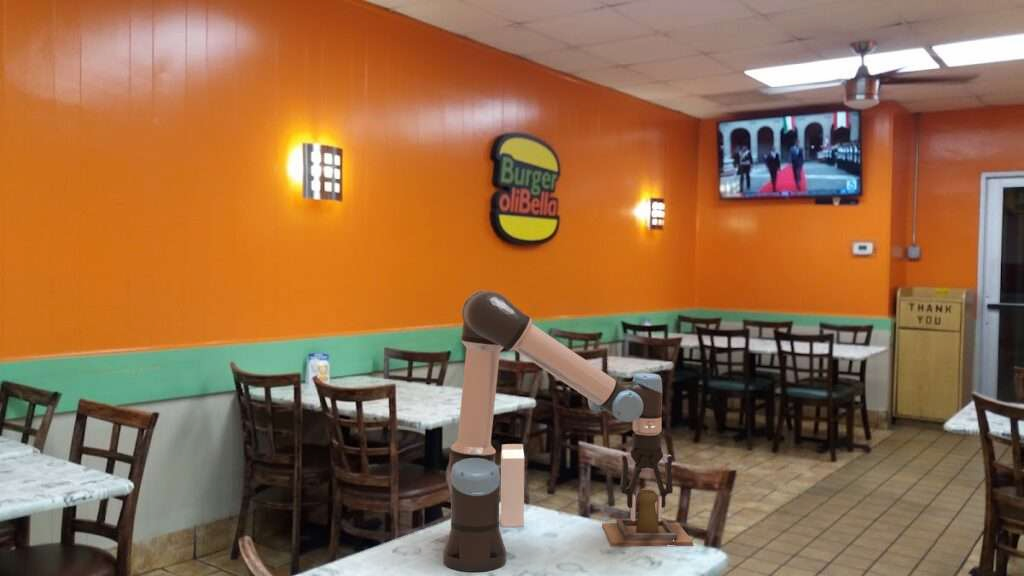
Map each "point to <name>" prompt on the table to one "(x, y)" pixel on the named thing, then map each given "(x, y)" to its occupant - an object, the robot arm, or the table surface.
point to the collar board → (645, 534)
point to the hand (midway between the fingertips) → (645, 519)
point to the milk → (512, 485)
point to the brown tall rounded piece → (647, 512)
